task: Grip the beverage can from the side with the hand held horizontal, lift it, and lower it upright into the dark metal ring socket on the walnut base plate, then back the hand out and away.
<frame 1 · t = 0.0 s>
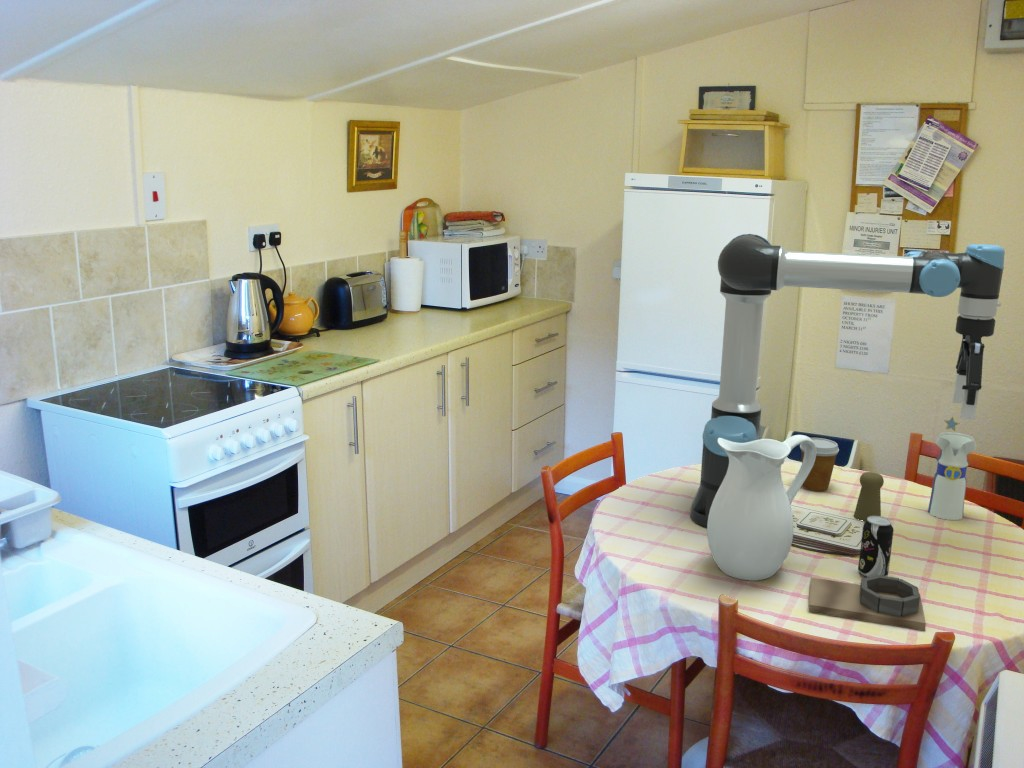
hand: (963, 410, 204), 28 cm above the table, tool pointing down, fingers open, 13 cm apart
pitcher: (759, 567, 190), on the table
disposable coffee cup: (815, 488, 235), on the table
beverage can: (872, 575, 186), on the table
socket plate: (864, 606, 173), on the table
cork: (867, 518, 216), on the table
water bottle: (946, 515, 218), on the table
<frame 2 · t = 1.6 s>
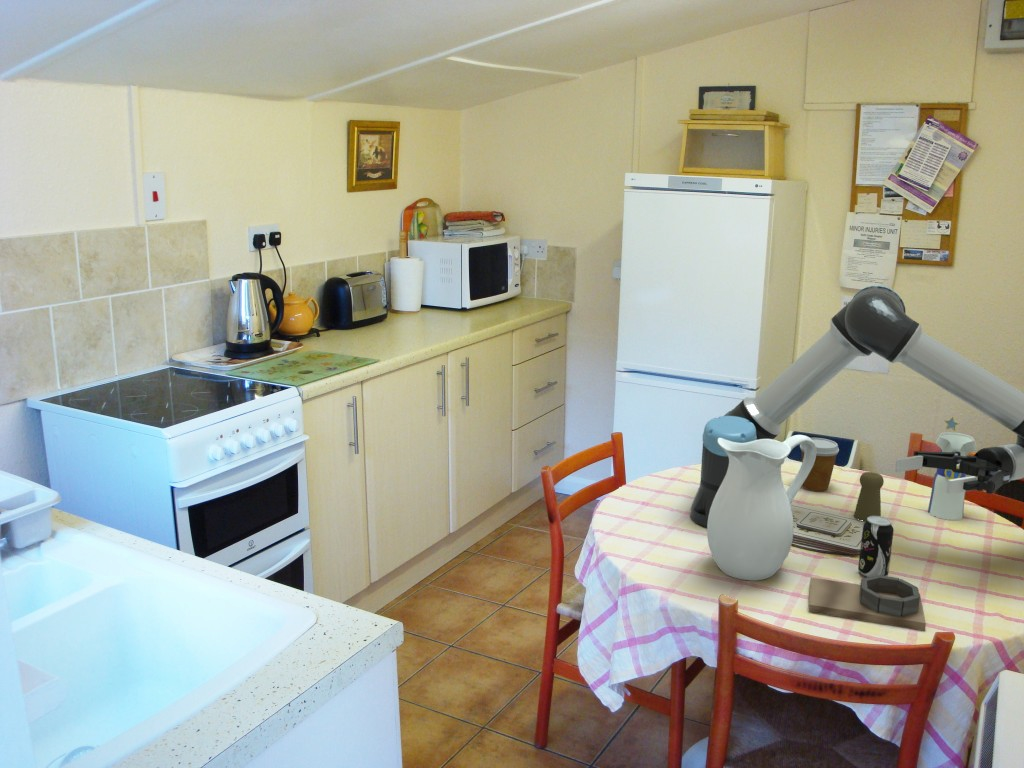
hand: (921, 475, 185), 20 cm above the table, tool horizontal, fingers open, 13 cm apart
nothing on the table moved.
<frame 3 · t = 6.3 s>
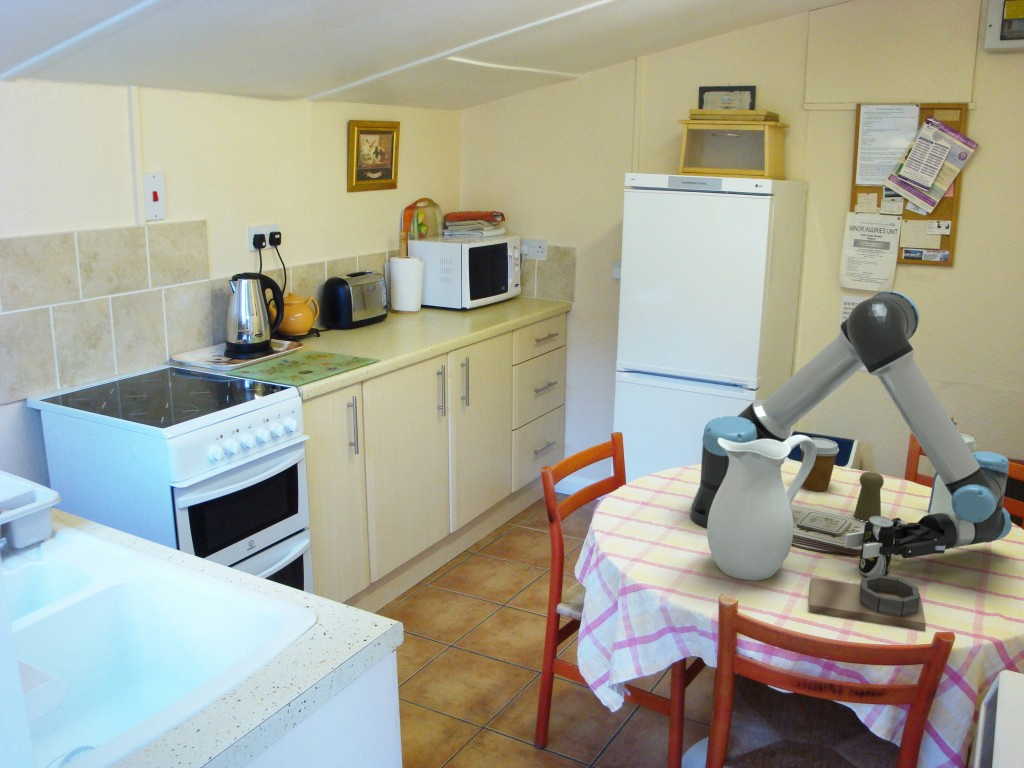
hand: (855, 546, 183), 7 cm above the table, tool horizontal, fingers closed on beverage can, 5 cm apart
beverage can: (872, 574, 186), on the table, touching gripper
everything else where it was.
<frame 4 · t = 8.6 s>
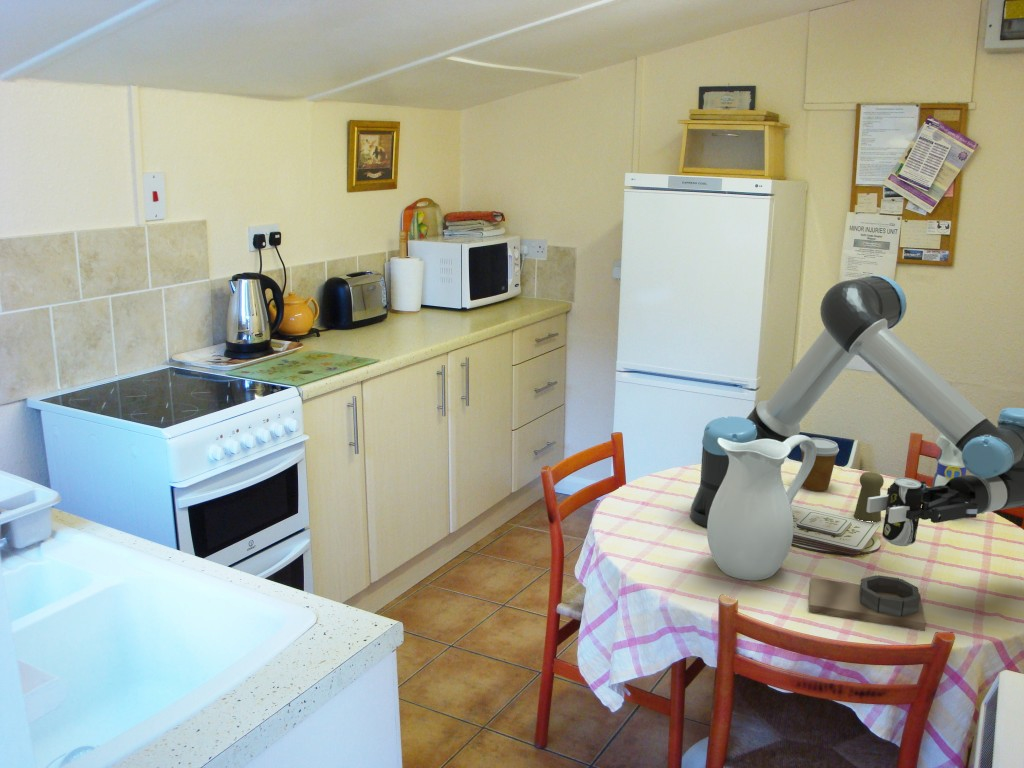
hand: (879, 510, 166), 20 cm above the table, tool horizontal, fingers closed on beverage can, 5 cm apart
beverage can: (897, 542, 170), point 13 cm above the table, touching gripper
everything else where it was.
when the fingers open (10 cm above the table, at t = 10.9 s): beverage can drops 2 cm, resting on socket plate.
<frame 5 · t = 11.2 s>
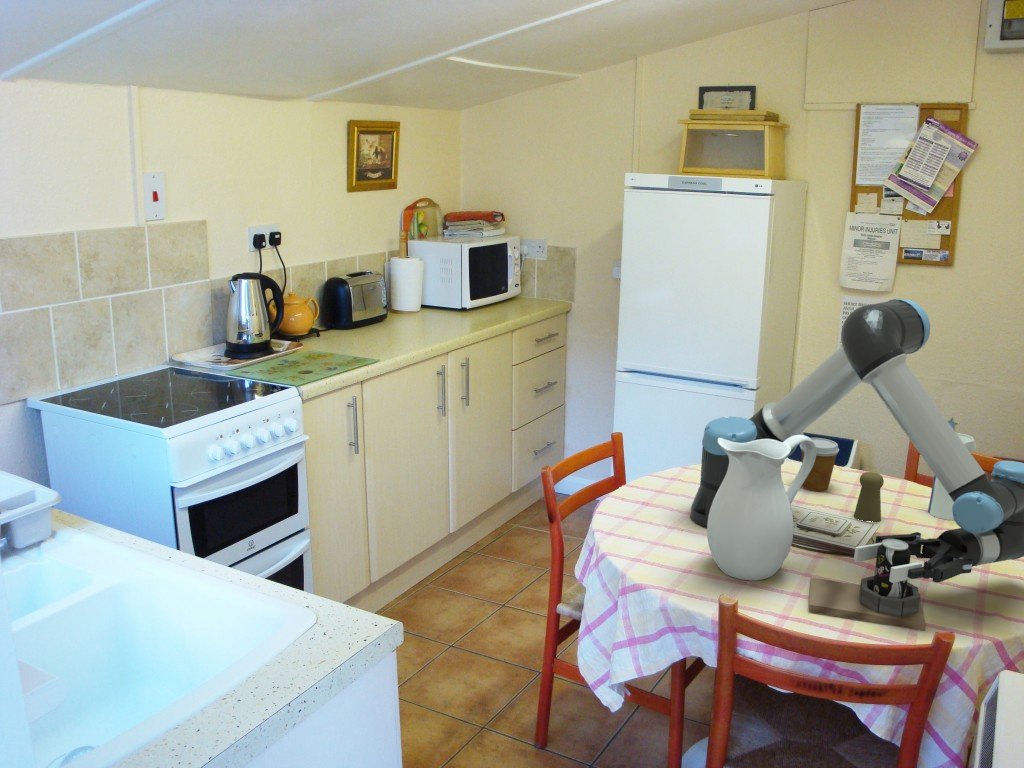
hand: (873, 564, 168), 10 cm above the table, tool horizontal, fingers open, 8 cm apart
beverage can: (887, 603, 172), point 1 cm above the table, touching socket plate
everything else where it was.
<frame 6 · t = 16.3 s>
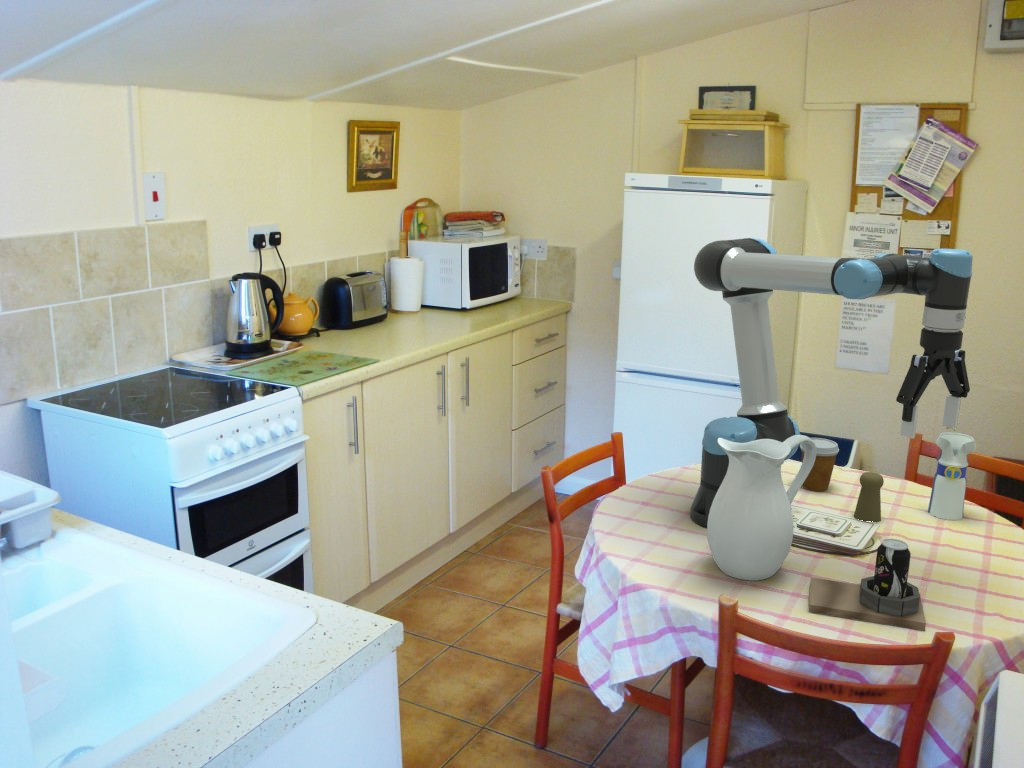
hand: (928, 432, 185), 29 cm above the table, tool pointing down, fingers open, 13 cm apart
nothing on the table moved.
at the end: beverage can 0.1 cm from the target spot on the socket plate, point 1.3 cm above the socket plate's base; beverage can tilted 0°; the gripper is holding nothing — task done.
